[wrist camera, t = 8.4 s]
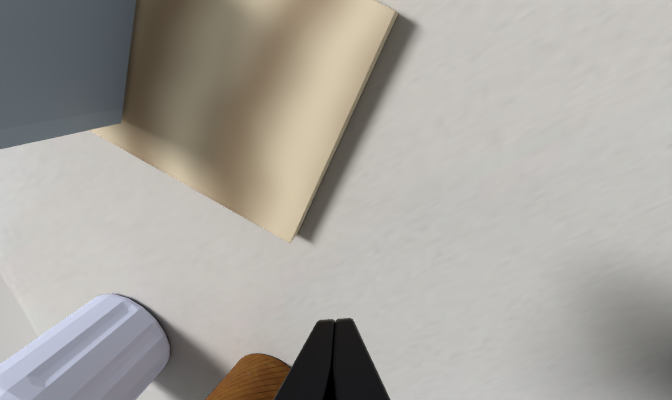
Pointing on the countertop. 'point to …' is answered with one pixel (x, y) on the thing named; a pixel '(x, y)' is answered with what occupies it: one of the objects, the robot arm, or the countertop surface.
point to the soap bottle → (90, 355)
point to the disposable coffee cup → (252, 379)
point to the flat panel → (247, 96)
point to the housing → (62, 66)
